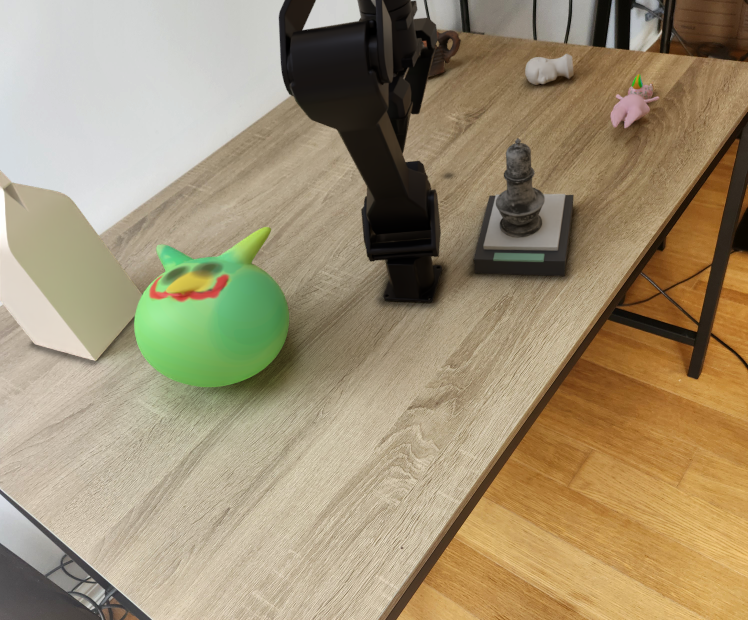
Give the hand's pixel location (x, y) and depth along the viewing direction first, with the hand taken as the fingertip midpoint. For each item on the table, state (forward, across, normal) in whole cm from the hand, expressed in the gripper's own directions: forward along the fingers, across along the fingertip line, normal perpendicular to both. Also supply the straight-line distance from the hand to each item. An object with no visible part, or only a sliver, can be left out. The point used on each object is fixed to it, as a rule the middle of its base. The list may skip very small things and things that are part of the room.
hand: (407, 133), depth 82 cm
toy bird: (+13, +28, -18) cm, 36 cm away
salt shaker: (+10, +5, +15) cm, 19 cm away
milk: (+13, +24, -43) cm, 51 cm away
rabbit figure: (+13, -24, +27) cm, 38 cm away
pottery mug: (+13, -44, -8) cm, 47 cm away
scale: (+13, +5, +15) cm, 20 cm away
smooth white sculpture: (+13, -36, +14) cm, 41 cm away
